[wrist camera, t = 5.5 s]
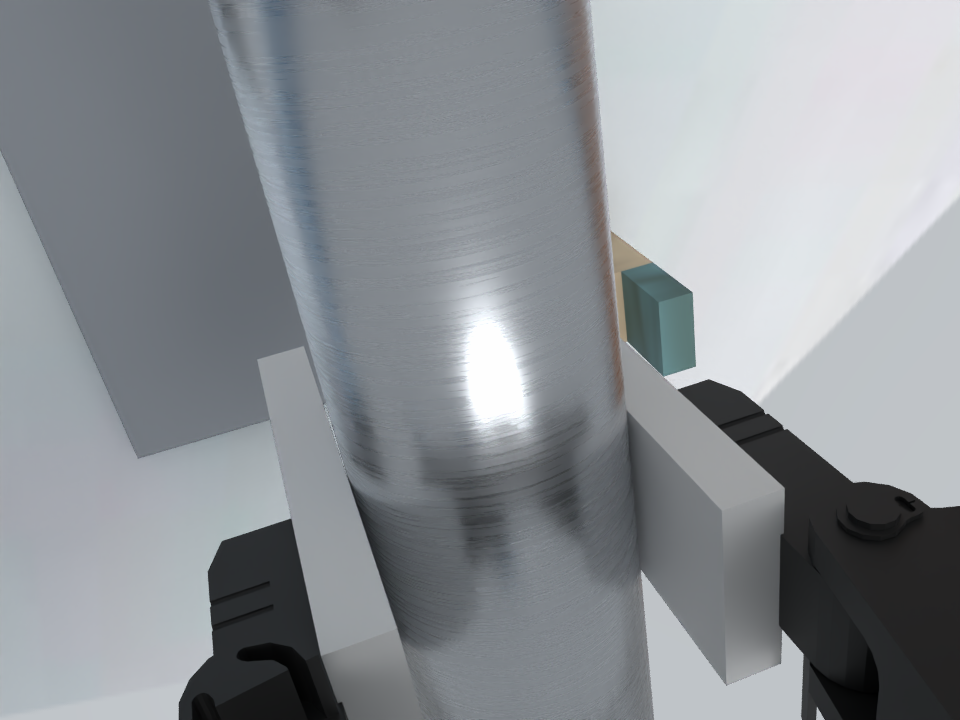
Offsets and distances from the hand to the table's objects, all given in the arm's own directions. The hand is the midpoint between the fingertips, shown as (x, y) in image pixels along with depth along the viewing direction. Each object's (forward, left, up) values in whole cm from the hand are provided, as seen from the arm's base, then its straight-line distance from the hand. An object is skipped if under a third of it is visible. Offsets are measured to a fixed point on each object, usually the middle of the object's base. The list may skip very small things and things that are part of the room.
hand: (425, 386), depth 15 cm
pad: (-4, 0, -20) cm, 20 cm away
